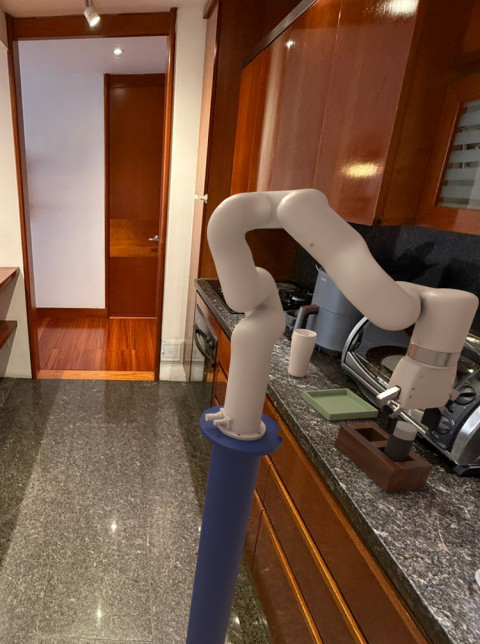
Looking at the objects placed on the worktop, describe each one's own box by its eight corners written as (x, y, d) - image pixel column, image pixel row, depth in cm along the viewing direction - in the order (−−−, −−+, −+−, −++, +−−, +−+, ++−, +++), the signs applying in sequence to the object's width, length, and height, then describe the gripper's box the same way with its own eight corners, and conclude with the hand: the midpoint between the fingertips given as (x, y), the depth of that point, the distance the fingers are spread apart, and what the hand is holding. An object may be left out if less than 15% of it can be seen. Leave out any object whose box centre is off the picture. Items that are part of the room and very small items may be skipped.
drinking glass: (311, 378, 126) (321, 336, 120) (290, 379, 126) (300, 336, 120) (301, 369, 132) (310, 328, 126) (281, 369, 132) (289, 328, 126)
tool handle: (386, 483, 83) (404, 433, 78) (372, 470, 87) (388, 421, 82) (403, 481, 83) (422, 431, 78) (388, 468, 87) (406, 420, 82)
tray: (328, 420, 104) (330, 414, 103) (301, 397, 115) (302, 391, 115) (376, 417, 106) (378, 410, 105) (345, 394, 117) (346, 388, 116)
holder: (385, 492, 81) (393, 469, 78) (334, 444, 95) (340, 424, 93) (423, 488, 81) (432, 466, 79) (367, 442, 96) (374, 421, 94)
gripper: (453, 343, 78) (428, 415, 84) (375, 348, 76) (355, 421, 83) (493, 359, 71) (462, 436, 77) (407, 365, 69) (383, 443, 76)
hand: (406, 428), depth 80 cm, fingers open, 9 cm apart
